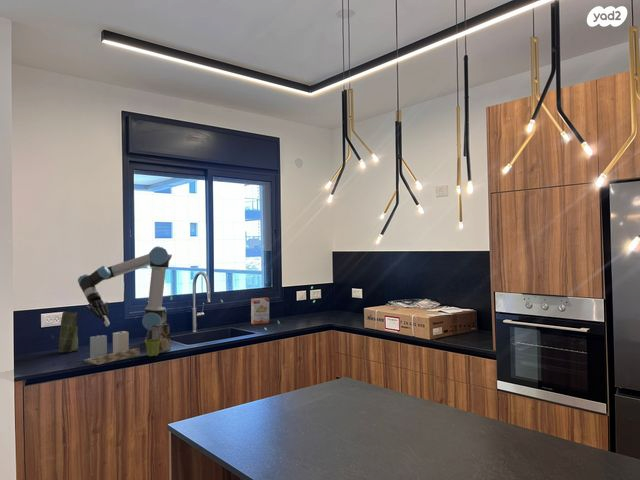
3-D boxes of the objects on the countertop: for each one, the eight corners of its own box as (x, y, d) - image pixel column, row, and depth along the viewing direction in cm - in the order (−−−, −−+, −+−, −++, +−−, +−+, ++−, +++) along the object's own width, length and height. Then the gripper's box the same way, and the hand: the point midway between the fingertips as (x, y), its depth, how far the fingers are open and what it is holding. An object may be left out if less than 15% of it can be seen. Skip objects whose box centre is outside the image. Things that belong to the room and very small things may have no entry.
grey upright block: (101, 355, 269) (101, 334, 269) (106, 356, 266) (106, 335, 266) (90, 358, 263) (90, 336, 263) (95, 359, 261) (95, 337, 261)
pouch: (61, 350, 291) (60, 310, 291) (82, 349, 294) (81, 309, 294) (55, 354, 280) (55, 312, 281) (77, 353, 283) (77, 311, 284)
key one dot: (123, 351, 281) (123, 330, 281) (128, 351, 278) (128, 331, 278) (112, 353, 275) (112, 332, 275) (118, 354, 272) (117, 333, 272)
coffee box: (163, 348, 292) (163, 323, 293) (170, 349, 289) (170, 324, 290) (151, 351, 284) (151, 325, 285) (159, 353, 281) (159, 326, 282)
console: (125, 352, 284) (125, 345, 284) (139, 355, 276) (139, 348, 276) (83, 361, 262) (83, 354, 262) (98, 364, 255) (98, 357, 255)
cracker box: (253, 324, 377) (253, 299, 377) (251, 323, 382) (250, 298, 382) (269, 323, 384) (269, 297, 384) (266, 322, 389) (266, 297, 389)
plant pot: (155, 357, 270) (155, 342, 270) (141, 356, 272) (141, 341, 272) (164, 353, 279) (164, 339, 280) (150, 353, 281) (150, 338, 281)
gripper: (100, 298, 299) (115, 327, 290) (80, 300, 289) (95, 330, 279) (104, 291, 297) (120, 319, 287) (84, 292, 286) (100, 322, 276)
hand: (108, 324), depth 283 cm, fingers closed
